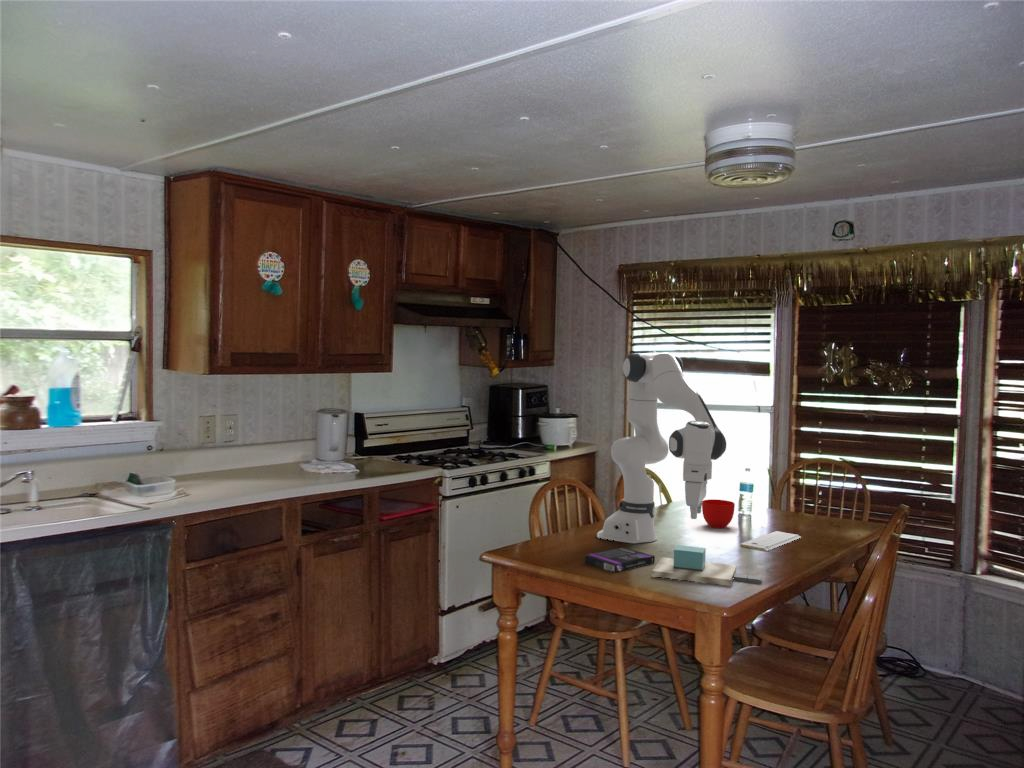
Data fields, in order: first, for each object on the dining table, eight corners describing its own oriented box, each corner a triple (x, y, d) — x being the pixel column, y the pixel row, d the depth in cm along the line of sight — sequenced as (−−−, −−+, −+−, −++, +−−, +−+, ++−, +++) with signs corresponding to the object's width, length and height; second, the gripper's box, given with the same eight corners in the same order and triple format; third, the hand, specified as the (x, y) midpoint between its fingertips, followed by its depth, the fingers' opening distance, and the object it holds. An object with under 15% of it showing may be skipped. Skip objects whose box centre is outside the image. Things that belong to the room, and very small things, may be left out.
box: (614, 575, 254) (655, 564, 266) (614, 564, 254) (655, 554, 266) (584, 565, 265) (624, 555, 277) (584, 554, 265) (625, 545, 277)
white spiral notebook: (805, 540, 307) (775, 534, 315) (806, 532, 307) (776, 527, 315) (771, 553, 284) (739, 548, 292) (771, 545, 284) (740, 540, 292)
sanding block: (673, 568, 252) (674, 549, 252) (676, 563, 259) (677, 545, 258) (702, 571, 249) (702, 552, 249) (705, 566, 255) (705, 548, 255)
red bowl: (729, 521, 335) (730, 498, 334) (736, 530, 318) (737, 506, 317) (698, 520, 336) (698, 497, 336) (703, 529, 319) (704, 504, 319)
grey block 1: (733, 581, 247) (733, 576, 247) (734, 578, 251) (734, 573, 251) (746, 583, 246) (746, 578, 246) (747, 579, 250) (747, 574, 250)
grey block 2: (760, 579, 244) (760, 585, 244) (761, 576, 248) (761, 581, 248) (747, 578, 246) (747, 583, 246) (748, 575, 249) (748, 580, 249)
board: (651, 577, 249) (651, 570, 249) (662, 563, 266) (662, 557, 266) (730, 586, 241) (730, 579, 241) (736, 571, 257) (736, 565, 257)
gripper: (692, 467, 263) (690, 509, 263) (682, 476, 244) (680, 520, 244) (711, 468, 261) (710, 510, 261) (703, 477, 242) (701, 522, 242)
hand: (696, 515), depth 253 cm, fingers open, 8 cm apart
